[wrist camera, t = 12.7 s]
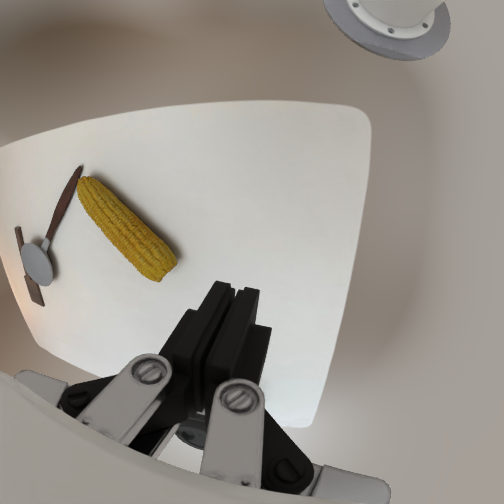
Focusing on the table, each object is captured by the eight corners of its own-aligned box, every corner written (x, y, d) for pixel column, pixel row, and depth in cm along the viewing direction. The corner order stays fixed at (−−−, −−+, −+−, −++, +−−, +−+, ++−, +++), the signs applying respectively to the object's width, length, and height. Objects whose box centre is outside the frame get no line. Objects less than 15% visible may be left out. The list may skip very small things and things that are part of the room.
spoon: (25, 257, 53) (17, 263, 50) (68, 145, 40) (58, 148, 37) (53, 287, 56) (46, 294, 53) (106, 183, 42) (97, 188, 40)
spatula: (13, 225, 51) (10, 226, 50) (24, 228, 50) (21, 230, 49) (33, 299, 61) (31, 301, 60) (44, 305, 60) (42, 307, 59)
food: (187, 252, 43) (169, 271, 37) (169, 273, 45) (151, 293, 40) (94, 165, 40) (69, 173, 34) (83, 191, 42) (59, 201, 37)
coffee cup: (199, 354, 52) (168, 415, 39) (255, 373, 51) (236, 439, 38) (193, 385, 57) (167, 439, 44) (242, 402, 56) (224, 459, 43)
